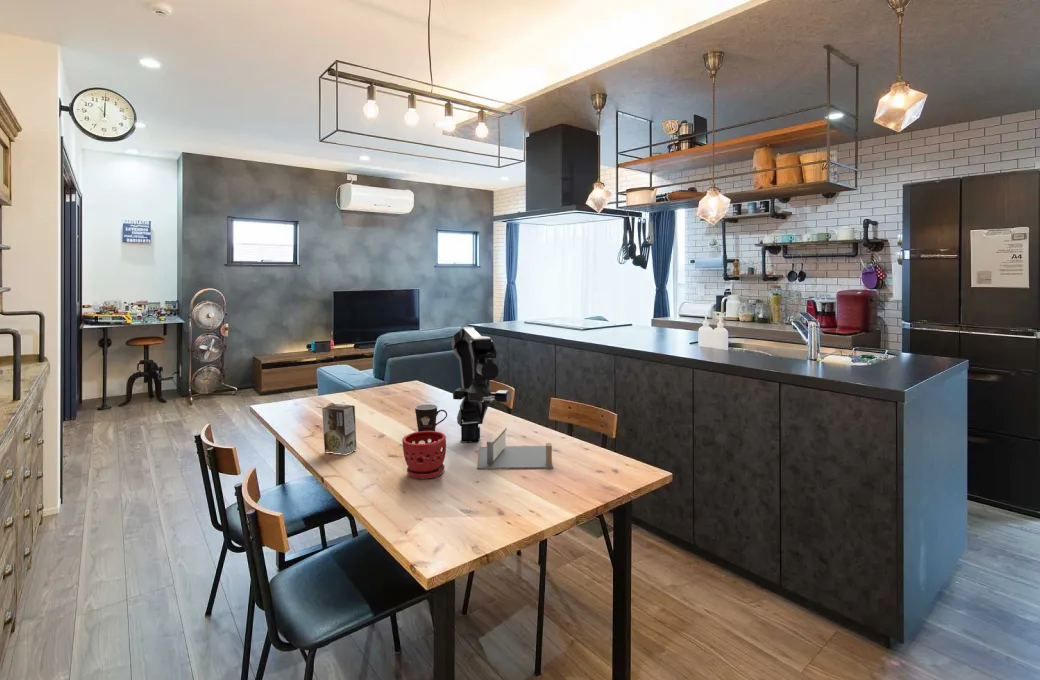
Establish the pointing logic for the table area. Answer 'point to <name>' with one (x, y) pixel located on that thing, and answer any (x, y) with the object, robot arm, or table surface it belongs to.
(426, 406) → the coffee mug
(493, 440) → the gate
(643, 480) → the table surface
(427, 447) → the plant pot
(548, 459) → the gate frame
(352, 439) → the coffee box
